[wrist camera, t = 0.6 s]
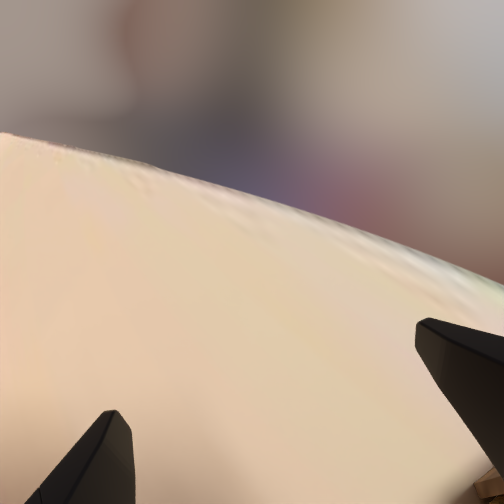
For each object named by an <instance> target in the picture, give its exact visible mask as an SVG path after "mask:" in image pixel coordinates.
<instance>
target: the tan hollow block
mask: <svg viewBox="0 0 504 504" xmlns="http://www.w3.org/2000/svg"><path fill="white" fill-rule="evenodd" d="M474 486H475V488H476V490H477V493H478V495H479V497H480V499H482V498H487V497H492V496H496V495H501V494H504V481H503V479H502V478H501V476H500V475H499V473H498V472H497V470H496V468H495V467H493V468H492V469H491V470H490V471H489V472H488V473H486V474H485V475H484V476H483V477H481V478H480V479H479V480H478V481H476V482H475V483H474Z"/></svg>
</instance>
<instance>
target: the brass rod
mask: <svg viewBox="0 0 504 504" xmlns="http://www.w3.org/2000/svg"><path fill="white" fill-rule="evenodd" d="M488 504H504V494H501V495H498V496H497V497H495V498H494V499H493V500H492V501H491V502H490V503H488Z"/></svg>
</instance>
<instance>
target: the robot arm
mask: <svg viewBox="0 0 504 504" xmlns="http://www.w3.org/2000/svg"><path fill="white" fill-rule="evenodd" d="M415 347H416V350H417V352H418V354H419V355H420V357H421V359H422V360H423V362H424V364H425V365H426V367H427V369H428V370H429V372H430V374H431V375H432V377H433V379H434V381H435V382H436V384H437V385H438V387H439V388H440V390H441V391H442V393H443V394H444V395H445V397H446V398H447V399H448V401H449V402H450V403H451V405H452V406H453V408H454V409H455V410H456V412H457V413H458V415H459V416H460V417H461V419H462V420H463V422H464V423H465V424H466V426H467V427H468V429H469V430H470V431H471V433H472V434H473V436H474V437H475V439H476V440H477V442H478V443H479V444H480V446H481V447H482V449H483V450H484V452H485V453H486V455H487V456H488V458H489V459H490V461H491V462H492V464H493V465H494V467H495V468H496V470H497V472H498V473H499V475H500V476H501V478H502V479H503V481H504V337H503V336H499V335H495V334H491V333H487V332H483V331H479V330H475V329H471V328H468V327H464V326H460V325H456V324H452V323H448V322H445V321H441V320H437V319H433V318H425V319H423V320H421V321H419V322H418V323H417V324H416V334H415ZM39 487H40V488H37V490H36V491H35V492H34V493H33V494H32V495H31V497H30V498H29V499H28V500H27V501H26V502H25V503H24V504H135V465H134V454H133V441H132V432H131V429H130V427H129V425H128V424H127V423H126V421H125V420H124V419H123V417H122V416H121V414H120V413H119V412H118V411H117V410H108V411H104V412H103V413H102V414H101V415H100V416H99V417H98V418H97V420H96V421H95V422H94V423H93V424H92V425H91V426H90V428H89V429H88V430H87V431H86V432H85V433H84V435H83V436H82V437H81V438H80V439H79V440H78V442H77V443H76V444H75V445H74V446H73V447H72V449H71V450H70V451H69V452H68V453H67V454H66V456H65V457H64V458H63V459H62V460H61V461H60V463H59V464H58V465H57V466H56V467H55V468H54V470H53V471H52V472H51V473H50V474H49V475H48V477H47V478H46V479H45V480H44V481H43V483H42V484H41V485H40V486H39Z"/></svg>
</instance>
